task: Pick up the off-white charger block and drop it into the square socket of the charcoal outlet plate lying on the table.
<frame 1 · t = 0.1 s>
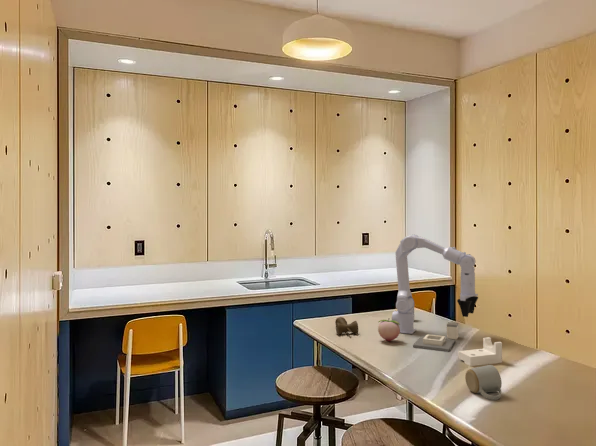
hand: (467, 314, 198), 10 cm above the table, tool pointing down, fingers open, 7 cm apart
ceramic mug: (486, 394, 139), on the table
bracket: (480, 362, 168), on the table
charger block: (452, 337, 199), on the table
decorative fruit: (389, 342, 195), on the table
outlet plate: (434, 344, 189), on the table
kendama: (345, 332, 212), on the table
medicine box: (405, 321, 231), on the table
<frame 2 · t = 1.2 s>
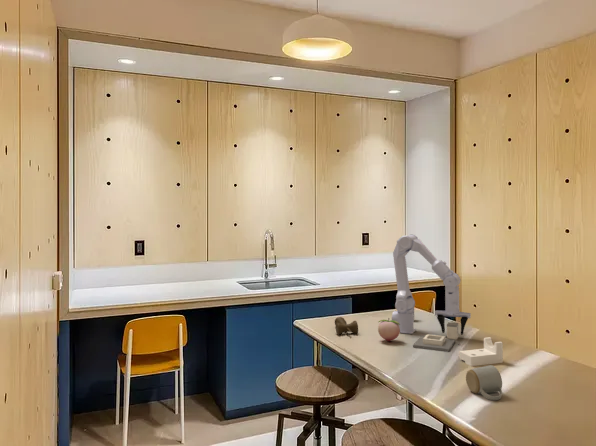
hand: (452, 333, 199), 2 cm above the table, tool pointing down, fingers open, 7 cm apart
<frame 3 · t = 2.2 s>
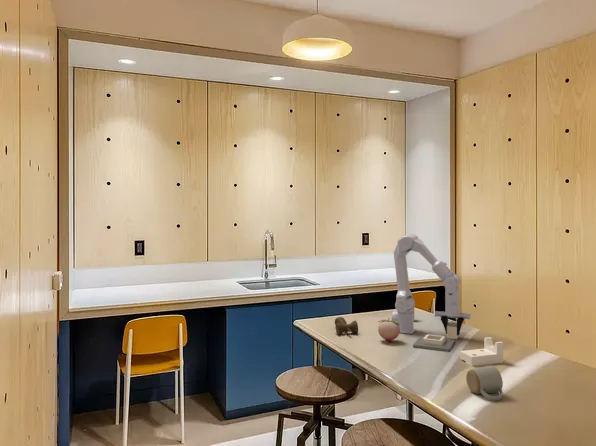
hand: (452, 334, 199), 1 cm above the table, tool pointing down, fingers closed on charger block, 4 cm apart
charger block: (452, 337, 199), on the table, touching gripper
everything else where it was.
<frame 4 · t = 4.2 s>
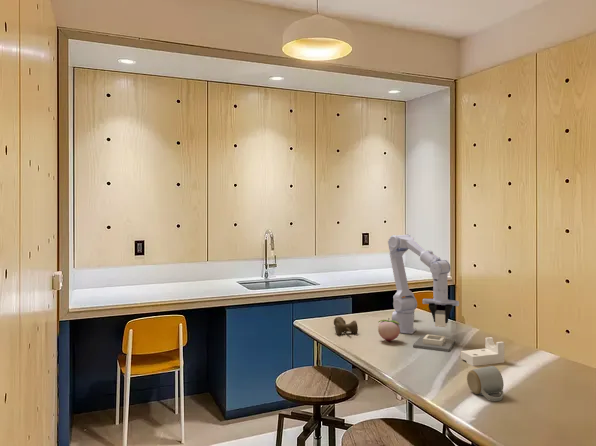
hand: (440, 322, 192), 8 cm above the table, tool pointing down, fingers closed on charger block, 4 cm apart
charger block: (441, 325, 193), point 7 cm above the table, touching gripper
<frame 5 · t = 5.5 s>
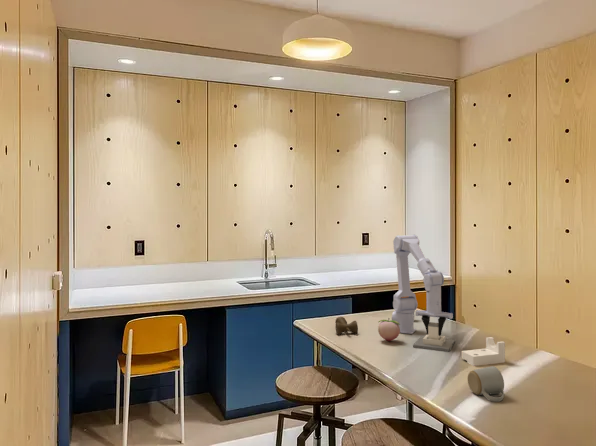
hand: (434, 334, 189), 4 cm above the table, tool pointing down, fingers closed on charger block, 4 cm apart
charger block: (434, 338, 189), point 3 cm above the table, touching gripper
when the fingers open (4 cm above the table, at t = 6.2 s): charger block drops 2 cm, resting on outlet plate.
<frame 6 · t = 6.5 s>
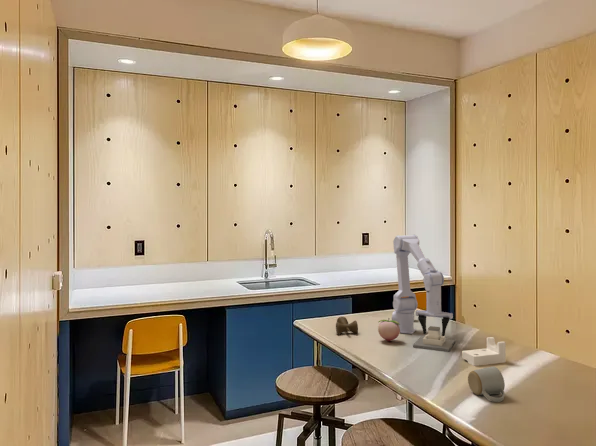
hand: (434, 334, 189), 4 cm above the table, tool pointing down, fingers open, 7 cm apart
charger block: (434, 342, 189), point 1 cm above the table, touching outlet plate
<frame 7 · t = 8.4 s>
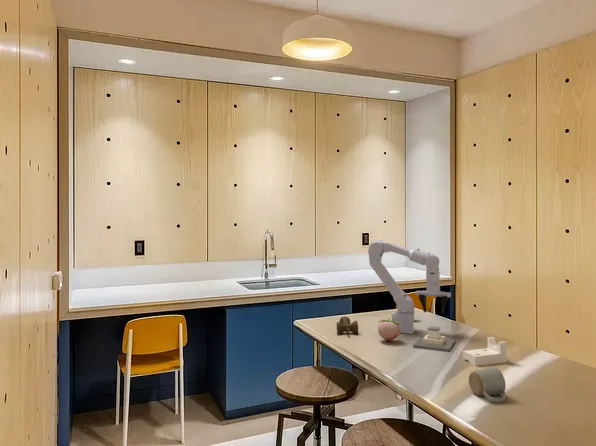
hand: (433, 312, 206), 9 cm above the table, tool pointing down, fingers open, 7 cm apart
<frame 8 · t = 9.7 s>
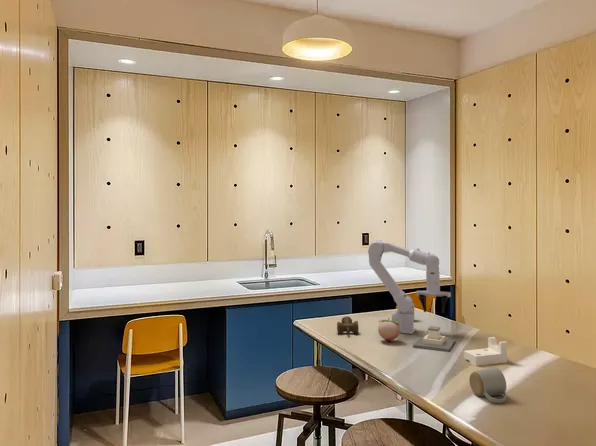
hand: (433, 312, 207), 9 cm above the table, tool pointing down, fingers open, 7 cm apart
at the end: charger block 0.2 cm off-centre on the outlet plate, point 1.0 cm above the outlet plate's base; charger block tilted 0°; the gripper is holding nothing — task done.
